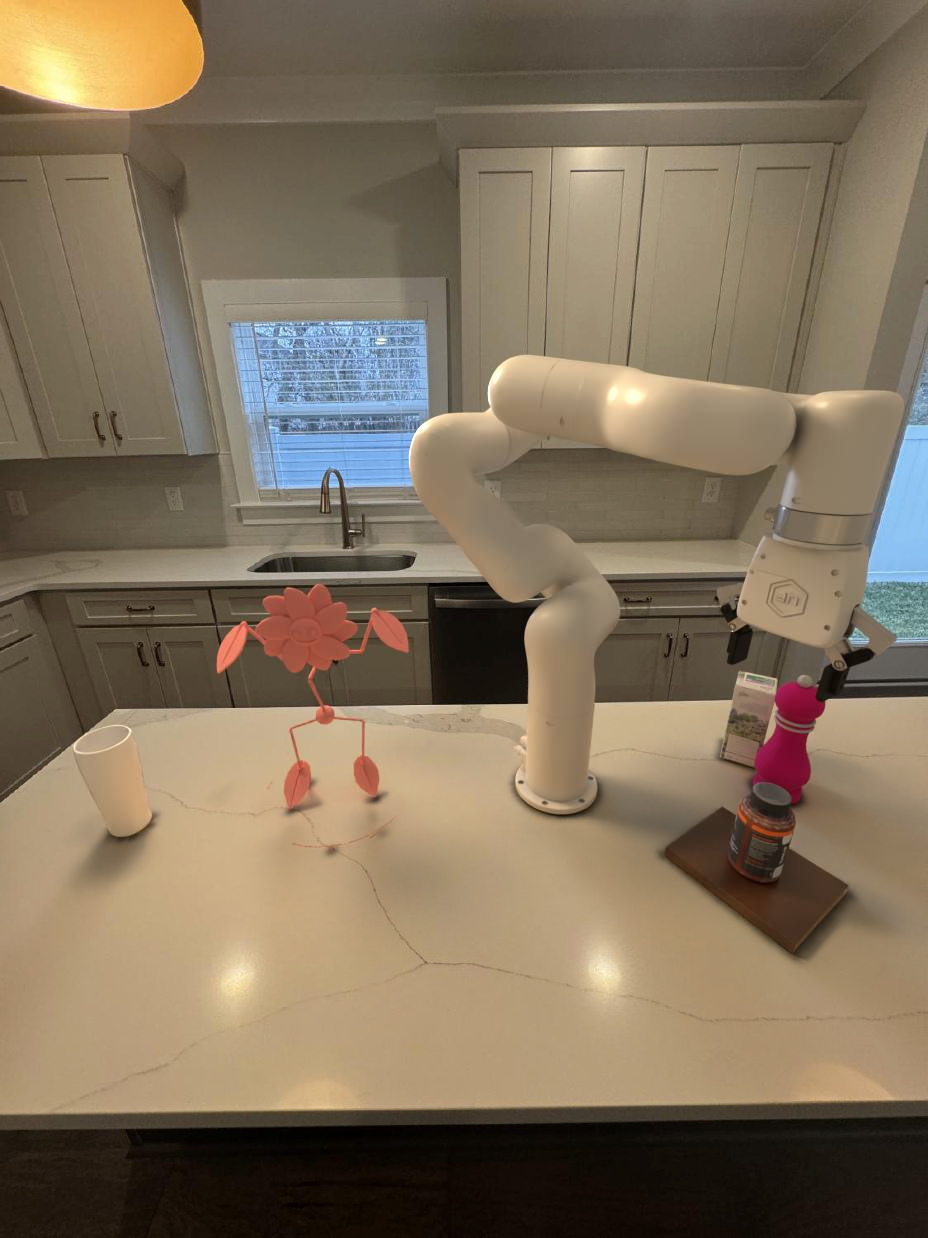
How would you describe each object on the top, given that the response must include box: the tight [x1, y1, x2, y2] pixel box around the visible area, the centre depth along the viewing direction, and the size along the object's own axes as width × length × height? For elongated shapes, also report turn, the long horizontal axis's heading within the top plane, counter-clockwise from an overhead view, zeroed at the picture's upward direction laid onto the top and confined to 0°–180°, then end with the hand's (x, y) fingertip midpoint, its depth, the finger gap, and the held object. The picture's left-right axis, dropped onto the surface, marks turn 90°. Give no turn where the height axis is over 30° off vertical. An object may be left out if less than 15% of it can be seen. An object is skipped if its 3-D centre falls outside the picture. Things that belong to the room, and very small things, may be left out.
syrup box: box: [719, 670, 778, 769], centre depth 83 cm, size 6×6×14 cm
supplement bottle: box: [728, 782, 797, 883], centre depth 61 cm, size 6×6×11 cm
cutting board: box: [664, 806, 850, 954], centre depth 64 cm, size 16×13×2 cm
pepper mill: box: [752, 674, 826, 805], centre depth 74 cm, size 7×7×20 cm
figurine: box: [216, 583, 409, 851], centre depth 69 cm, size 15×26×35 cm, turn 97°
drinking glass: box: [72, 724, 153, 838], centre depth 71 cm, size 7×7×15 cm
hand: (777, 678), depth 57 cm, fingers open, 9 cm apart
